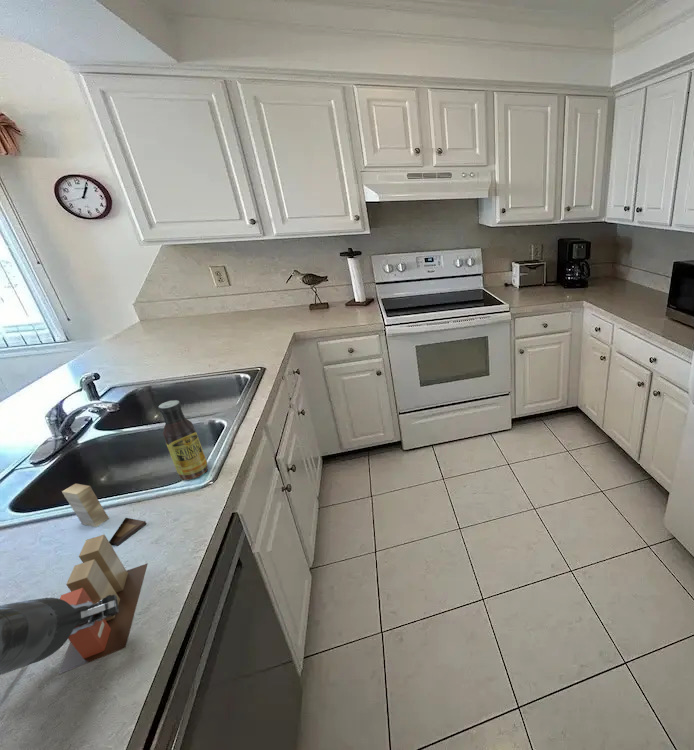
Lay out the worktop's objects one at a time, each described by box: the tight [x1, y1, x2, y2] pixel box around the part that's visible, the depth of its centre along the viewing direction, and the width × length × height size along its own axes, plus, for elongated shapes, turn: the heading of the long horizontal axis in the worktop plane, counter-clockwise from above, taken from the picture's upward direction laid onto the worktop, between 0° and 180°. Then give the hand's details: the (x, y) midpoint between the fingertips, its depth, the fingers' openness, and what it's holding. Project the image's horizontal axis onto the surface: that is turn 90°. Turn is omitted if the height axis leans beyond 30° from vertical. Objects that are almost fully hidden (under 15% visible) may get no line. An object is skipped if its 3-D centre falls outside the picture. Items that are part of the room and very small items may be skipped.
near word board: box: [57, 534, 148, 676], centre depth 67 cm, size 8×18×11 cm, turn 29°
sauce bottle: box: [158, 399, 209, 481], centre depth 99 cm, size 6×6×20 cm
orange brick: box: [59, 588, 111, 659], centre depth 63 cm, size 3×4×10 cm, turn 29°
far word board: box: [61, 483, 147, 547], centre depth 85 cm, size 6×12×11 cm, turn 77°
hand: (89, 616), depth 64 cm, fingers open, 4 cm apart
